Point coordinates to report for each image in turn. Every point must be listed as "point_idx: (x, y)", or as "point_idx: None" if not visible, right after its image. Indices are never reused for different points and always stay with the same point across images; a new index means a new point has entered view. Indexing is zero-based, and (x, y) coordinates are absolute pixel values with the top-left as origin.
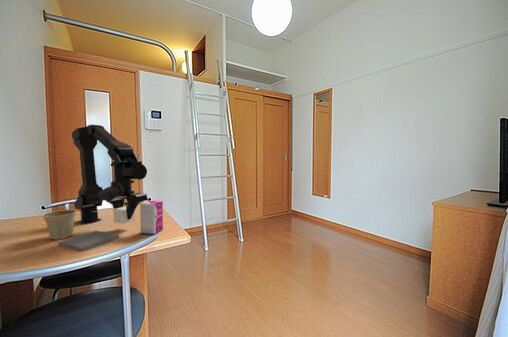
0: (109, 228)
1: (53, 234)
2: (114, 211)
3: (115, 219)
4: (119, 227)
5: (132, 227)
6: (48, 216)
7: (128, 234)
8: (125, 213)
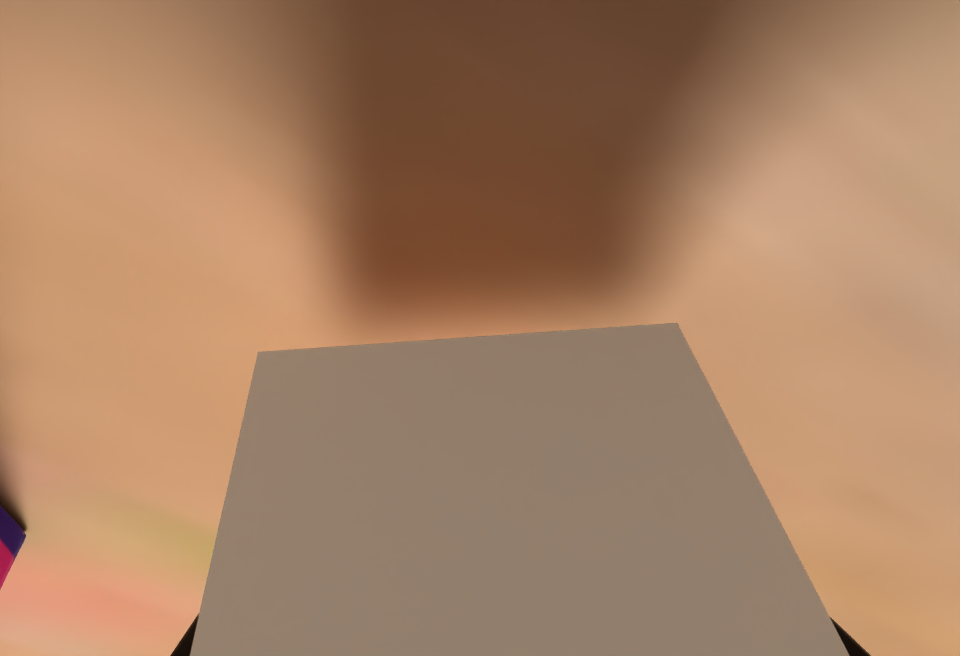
0: (862, 251)
1: None
2: (768, 647)
3: (625, 391)
4: None
5: None
6: None
7: (40, 185)
8: None
